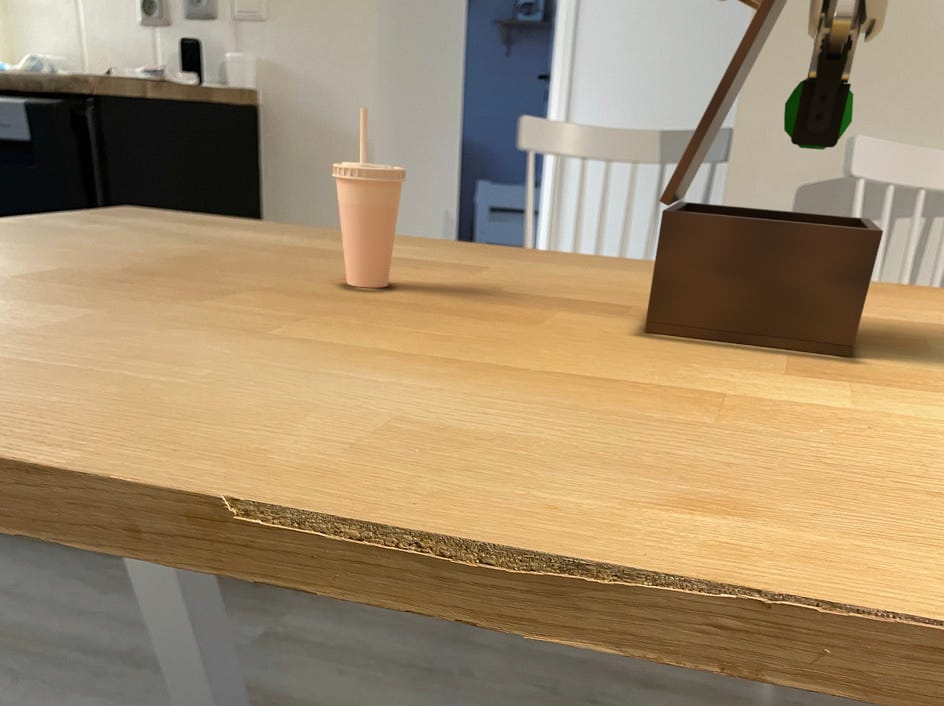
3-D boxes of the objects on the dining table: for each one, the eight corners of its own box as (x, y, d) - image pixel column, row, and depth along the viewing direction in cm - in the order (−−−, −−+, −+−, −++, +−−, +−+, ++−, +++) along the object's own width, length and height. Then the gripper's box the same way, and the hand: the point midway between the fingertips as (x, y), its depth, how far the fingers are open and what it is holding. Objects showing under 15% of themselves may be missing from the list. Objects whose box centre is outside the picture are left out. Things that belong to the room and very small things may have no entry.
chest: (842, 329, 82) (869, 218, 78) (850, 357, 71) (883, 230, 67) (661, 308, 85) (678, 201, 81) (644, 332, 75) (662, 210, 71)
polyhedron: (780, 146, 74) (794, 75, 72) (845, 151, 73) (862, 79, 71) (774, 145, 70) (789, 70, 68) (843, 151, 69) (861, 74, 66)
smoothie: (341, 276, 90) (342, 106, 83) (408, 282, 89) (414, 112, 82) (323, 285, 84) (323, 105, 77) (394, 292, 83) (400, 110, 77)
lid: (796, -16, 72) (733, -49, 72) (797, -44, 62) (724, -82, 62) (683, 197, 81) (628, 167, 81) (668, 206, 70) (604, 171, 70)
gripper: (961, -204, 55) (873, 151, 63) (924, -131, 69) (856, 149, 78) (826, -204, 56) (758, 141, 65) (817, -133, 71) (763, 141, 79)
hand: (812, 142), depth 71 cm, fingers closed on polyhedron, 5 cm apart
